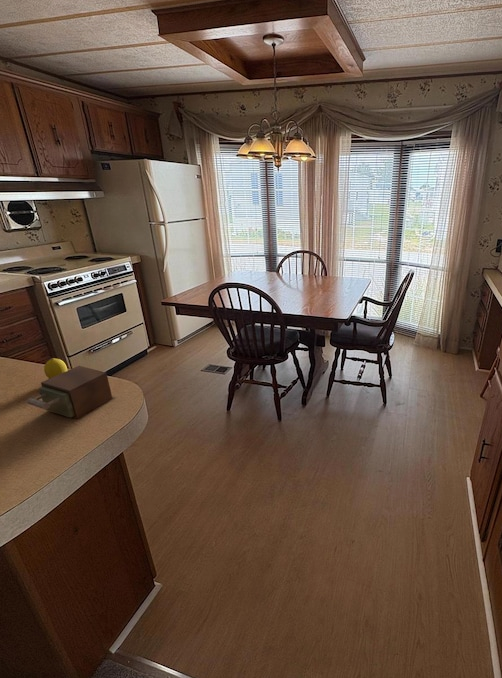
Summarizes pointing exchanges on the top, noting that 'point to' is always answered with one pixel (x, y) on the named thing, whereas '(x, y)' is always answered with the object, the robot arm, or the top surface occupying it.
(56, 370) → the lemon
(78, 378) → the cabinet
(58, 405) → the drawer
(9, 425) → the top surface
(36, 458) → the top surface
